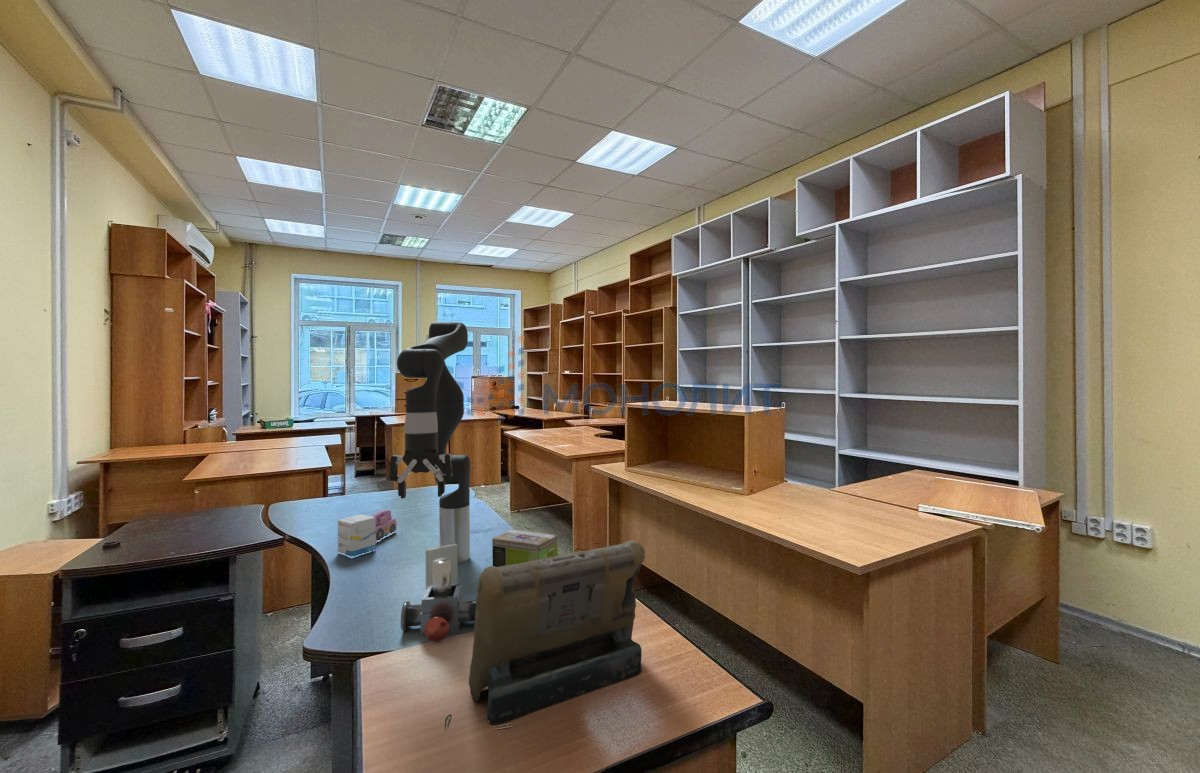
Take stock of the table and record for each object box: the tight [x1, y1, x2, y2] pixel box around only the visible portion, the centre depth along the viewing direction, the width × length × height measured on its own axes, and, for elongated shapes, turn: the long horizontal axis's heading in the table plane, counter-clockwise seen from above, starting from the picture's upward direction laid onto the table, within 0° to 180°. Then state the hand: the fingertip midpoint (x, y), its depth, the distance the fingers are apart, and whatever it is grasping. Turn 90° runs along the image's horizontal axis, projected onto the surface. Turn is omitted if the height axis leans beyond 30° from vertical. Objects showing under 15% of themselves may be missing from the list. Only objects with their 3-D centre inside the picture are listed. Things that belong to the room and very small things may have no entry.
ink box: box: [337, 513, 377, 556], centre depth 157 cm, size 8×8×12 cm
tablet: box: [468, 539, 646, 725], centre depth 88 cm, size 33×14×25 cm, turn 124°
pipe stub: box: [432, 558, 452, 597], centre depth 108 cm, size 4×4×10 cm
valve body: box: [400, 582, 477, 642], centre depth 107 cm, size 12×17×8 cm
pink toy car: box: [371, 509, 398, 541], centre depth 173 cm, size 18×6×10 cm, turn 172°
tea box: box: [491, 528, 559, 567], centre depth 127 cm, size 15×10×15 cm
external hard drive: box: [424, 544, 459, 591], centre depth 126 cm, size 2×8×12 cm, turn 123°
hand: (421, 497), depth 115 cm, fingers open, 8 cm apart
